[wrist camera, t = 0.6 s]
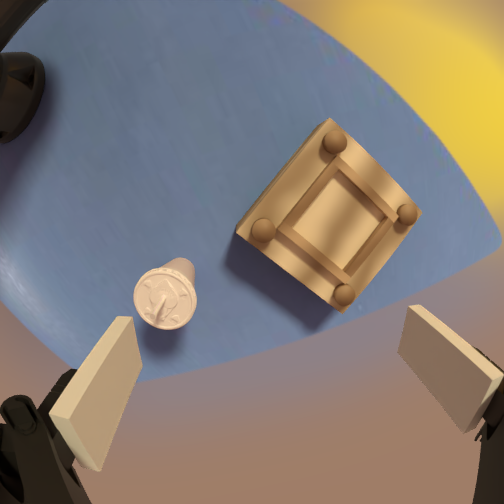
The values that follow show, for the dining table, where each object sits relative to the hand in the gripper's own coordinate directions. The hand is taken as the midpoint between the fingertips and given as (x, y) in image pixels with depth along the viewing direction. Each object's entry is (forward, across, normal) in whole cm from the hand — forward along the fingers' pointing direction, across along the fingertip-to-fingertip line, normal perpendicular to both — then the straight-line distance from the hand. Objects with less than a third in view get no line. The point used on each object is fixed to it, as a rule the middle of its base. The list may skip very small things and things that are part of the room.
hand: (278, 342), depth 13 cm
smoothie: (+24, -9, -4) cm, 26 cm away
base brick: (+24, +10, +3) cm, 26 cm away
